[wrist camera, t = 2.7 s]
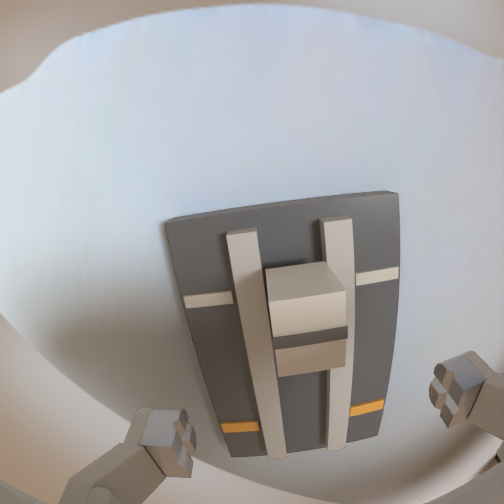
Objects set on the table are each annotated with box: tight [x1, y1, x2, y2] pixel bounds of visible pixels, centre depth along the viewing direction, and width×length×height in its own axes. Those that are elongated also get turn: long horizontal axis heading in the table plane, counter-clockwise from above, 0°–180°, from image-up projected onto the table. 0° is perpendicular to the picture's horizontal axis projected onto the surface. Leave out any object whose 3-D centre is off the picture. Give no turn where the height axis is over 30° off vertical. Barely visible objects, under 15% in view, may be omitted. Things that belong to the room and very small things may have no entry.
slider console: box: [165, 191, 400, 459], centre depth 20 cm, size 14×22×3 cm, turn 8°
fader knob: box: [265, 261, 348, 377], centre depth 15 cm, size 3×4×5 cm
